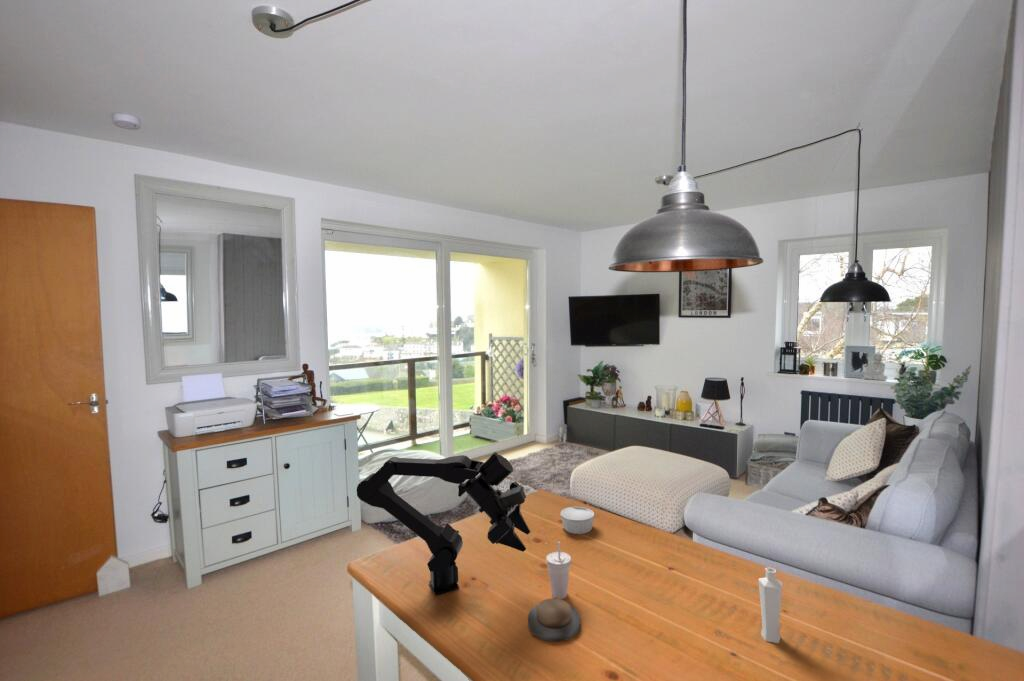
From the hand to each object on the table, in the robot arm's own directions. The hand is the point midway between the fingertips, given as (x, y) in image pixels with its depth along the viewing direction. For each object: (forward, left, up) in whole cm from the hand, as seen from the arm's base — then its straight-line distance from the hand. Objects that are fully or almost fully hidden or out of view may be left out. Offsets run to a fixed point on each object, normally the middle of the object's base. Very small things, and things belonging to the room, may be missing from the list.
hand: (527, 541), depth 121 cm
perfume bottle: (+38, -40, -13) cm, 57 cm away
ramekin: (+31, +24, -14) cm, 41 cm away
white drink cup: (+6, -5, -13) cm, 16 cm away
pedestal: (-1, -14, -13) cm, 19 cm away
